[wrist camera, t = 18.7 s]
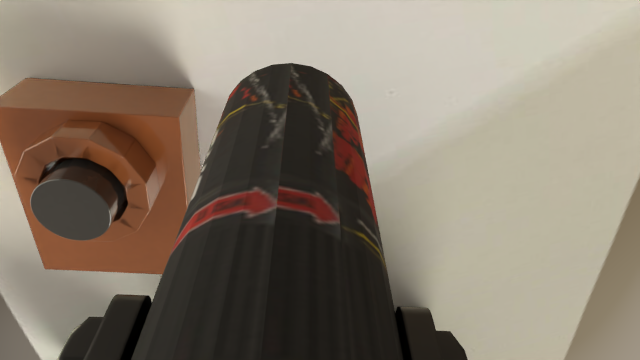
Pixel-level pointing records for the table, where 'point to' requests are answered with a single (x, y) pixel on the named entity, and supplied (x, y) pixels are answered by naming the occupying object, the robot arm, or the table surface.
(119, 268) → the push button box
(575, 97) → the table surface
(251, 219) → the deodorant
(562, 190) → the table surface
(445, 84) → the table surface
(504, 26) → the table surface
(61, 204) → the grey push button
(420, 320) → the robot arm
